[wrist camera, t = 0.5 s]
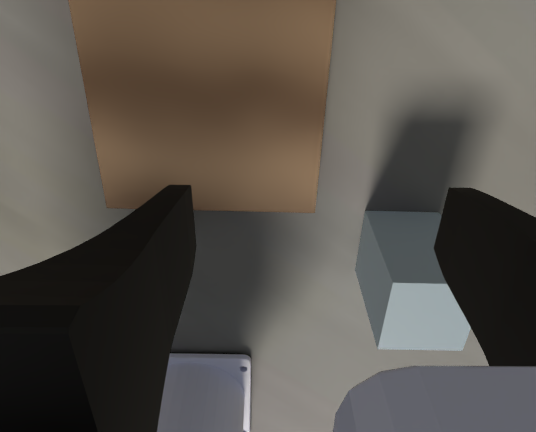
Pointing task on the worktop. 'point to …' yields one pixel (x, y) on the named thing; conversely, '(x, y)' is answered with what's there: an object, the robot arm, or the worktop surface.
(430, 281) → the block
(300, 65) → the base
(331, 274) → the worktop surface
